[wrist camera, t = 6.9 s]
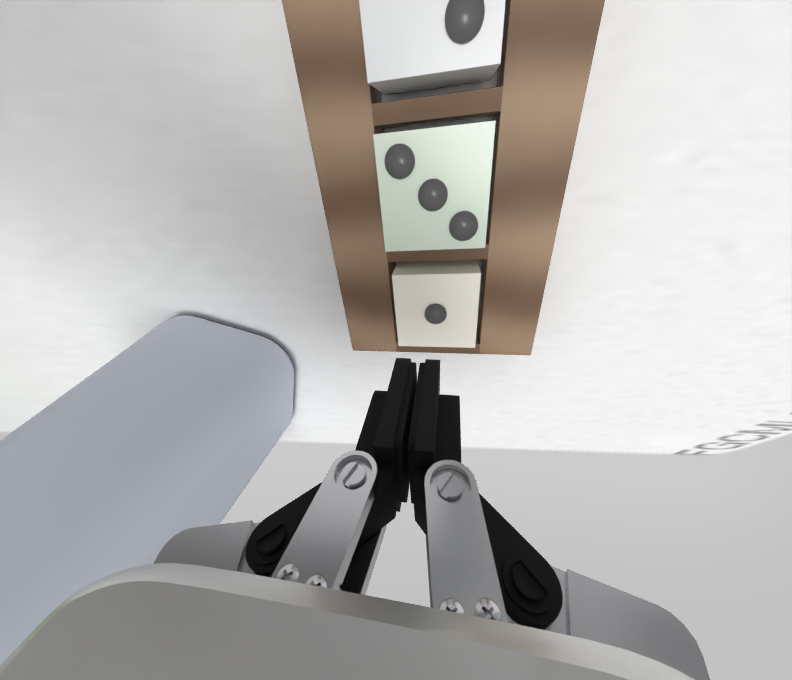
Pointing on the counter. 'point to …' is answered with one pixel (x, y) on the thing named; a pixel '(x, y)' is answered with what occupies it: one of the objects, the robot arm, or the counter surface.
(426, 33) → the two dot tile
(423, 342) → the one dot tile
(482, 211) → the three dot tile
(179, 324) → the plastic bottle
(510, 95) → the wooden tile tray
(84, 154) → the counter surface
